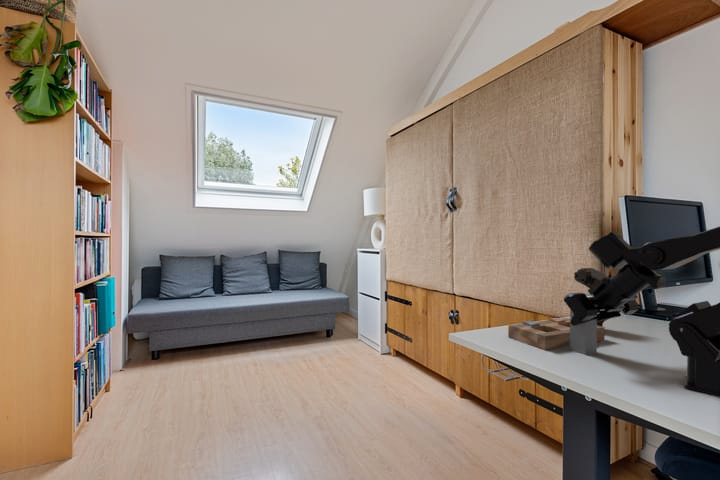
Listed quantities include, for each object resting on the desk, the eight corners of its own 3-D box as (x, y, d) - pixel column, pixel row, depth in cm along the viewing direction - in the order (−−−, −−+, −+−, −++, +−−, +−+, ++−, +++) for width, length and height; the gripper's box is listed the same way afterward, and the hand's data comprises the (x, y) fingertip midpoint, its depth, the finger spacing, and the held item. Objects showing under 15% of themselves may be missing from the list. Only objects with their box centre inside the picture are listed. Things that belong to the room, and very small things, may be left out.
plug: (596, 352, 88) (597, 296, 88) (585, 354, 87) (585, 298, 86) (581, 347, 92) (581, 294, 92) (569, 349, 90) (570, 295, 90)
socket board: (604, 340, 98) (604, 325, 98) (544, 350, 90) (544, 333, 90) (564, 329, 110) (564, 315, 110) (508, 337, 101) (508, 322, 101)
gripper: (625, 256, 89) (582, 294, 99) (571, 258, 82) (531, 299, 92) (662, 293, 82) (611, 330, 92) (606, 299, 75) (558, 338, 85)
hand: (578, 323), depth 91 cm, fingers closed on plug, 4 cm apart
